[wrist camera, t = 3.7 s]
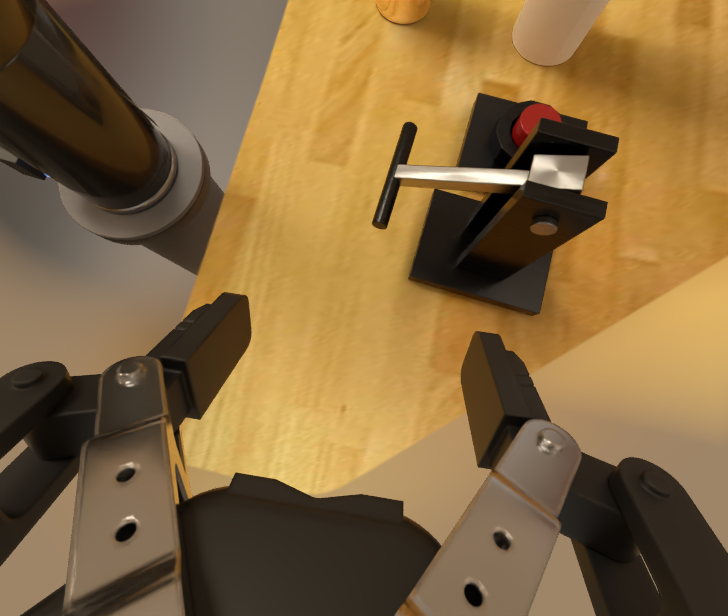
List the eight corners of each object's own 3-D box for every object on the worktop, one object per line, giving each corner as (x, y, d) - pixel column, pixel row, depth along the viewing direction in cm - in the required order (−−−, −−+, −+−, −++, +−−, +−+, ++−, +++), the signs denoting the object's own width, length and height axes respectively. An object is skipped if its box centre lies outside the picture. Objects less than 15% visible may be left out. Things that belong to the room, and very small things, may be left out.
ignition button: (507, 147, 30) (516, 133, 28) (516, 113, 30) (525, 98, 29) (546, 157, 30) (557, 144, 28) (554, 123, 30) (565, 109, 28)
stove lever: (377, 233, 24) (366, 215, 22) (406, 139, 25) (399, 114, 23) (562, 257, 19) (573, 239, 17) (586, 141, 21) (598, 110, 18)
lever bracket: (407, 279, 31) (443, 209, 17) (432, 194, 32) (483, 69, 19) (532, 316, 30) (673, 274, 17) (551, 228, 32) (693, 124, 18)
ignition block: (451, 181, 32) (462, 159, 29) (473, 105, 34) (485, 76, 31) (560, 211, 32) (584, 192, 29) (577, 133, 34) (601, 106, 30)
